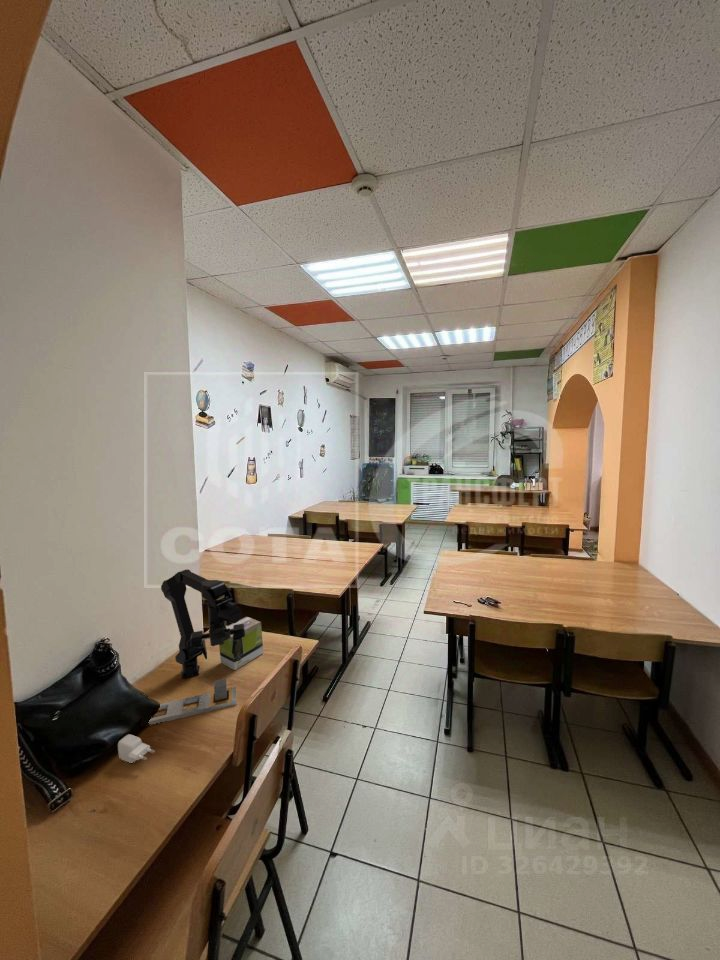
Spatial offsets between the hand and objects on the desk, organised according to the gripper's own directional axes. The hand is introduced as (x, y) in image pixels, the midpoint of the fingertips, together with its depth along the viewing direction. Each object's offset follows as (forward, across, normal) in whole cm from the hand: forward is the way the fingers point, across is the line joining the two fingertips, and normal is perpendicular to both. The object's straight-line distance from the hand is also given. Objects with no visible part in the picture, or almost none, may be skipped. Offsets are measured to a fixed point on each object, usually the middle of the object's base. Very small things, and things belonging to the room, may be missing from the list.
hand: (219, 656), depth 141 cm
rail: (+12, -10, -8) cm, 18 cm away
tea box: (+13, +8, +17) cm, 23 cm away
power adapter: (+13, -23, -26) cm, 37 cm away
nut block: (+13, 0, -8) cm, 15 cm away
